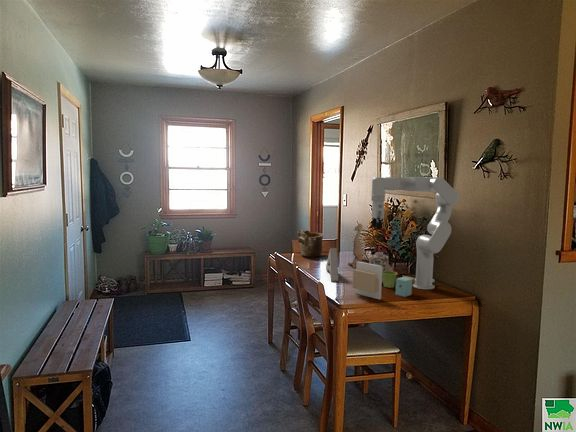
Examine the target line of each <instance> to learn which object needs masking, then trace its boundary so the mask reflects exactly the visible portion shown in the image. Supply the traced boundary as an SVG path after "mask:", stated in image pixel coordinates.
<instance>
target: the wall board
mask: <svg viewBox="0 0 576 432" xmlns="http://www.w3.org/2000/svg"><path fill="white" fill-rule="evenodd" d="M352 274H353V278H352V289H355V290H354V291H355V292H354V293H355V294H358V295H360V296H364V297H367V298H368V297H369V298H371V299H375V300H381V299H382V284H383V283H382V266H379V265H374V264H369V262H368V263H367V262H363V261H362V262H359V261H358V262H357V263H356V268H355V269H353V271H352Z"/></svg>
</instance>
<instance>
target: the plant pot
mask: <svg viewBox="0 0 576 432" xmlns="http://www.w3.org/2000/svg"><path fill="white" fill-rule="evenodd" d="M397 275H398V272H396V271H393V270H392V271H391V270H388V271H382V276H383V283H382V284H383V287H384V288H387V289H388V288H389V289H390V288H391V289H393V288H395V285H396V279H397V278H396V277H397Z"/></svg>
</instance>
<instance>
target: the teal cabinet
mask: <svg viewBox="0 0 576 432" xmlns="http://www.w3.org/2000/svg"><path fill="white" fill-rule="evenodd" d="M415 283H416V277H412V276H406V275H405V276H402V277H398V278H396V279H395V296H399V297H405V298H406V297H408V296H411V295H412V292H413V291H412V290H413V284H415Z"/></svg>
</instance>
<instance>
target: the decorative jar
mask: <svg viewBox="0 0 576 432" xmlns="http://www.w3.org/2000/svg"><path fill="white" fill-rule="evenodd" d="M369 255H370V256H369V259H368V263H369V264H374V265H379V266H382V271H389V266H390V265H389V261H390V257H389V256H388V255H387V254H384V252H381V251H377V252H375V253H374V254H369ZM382 284H383V276H382Z"/></svg>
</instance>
